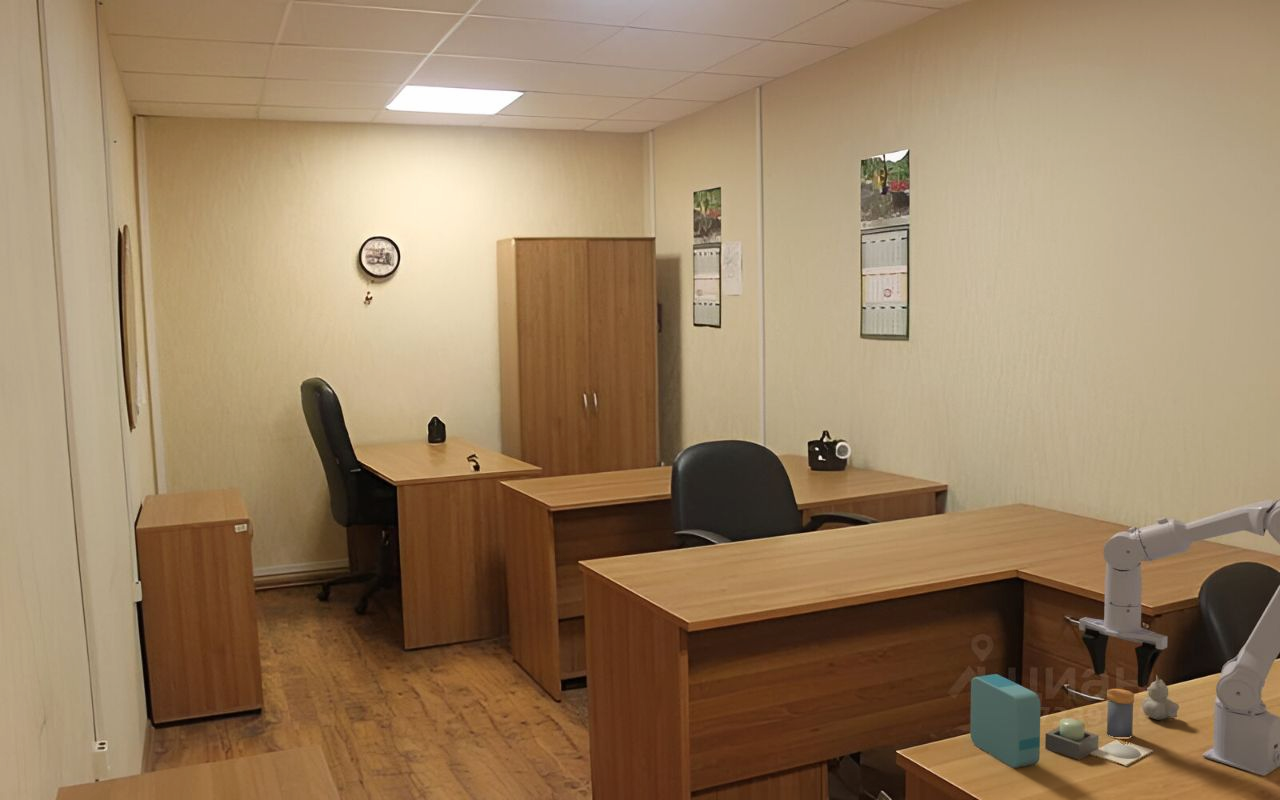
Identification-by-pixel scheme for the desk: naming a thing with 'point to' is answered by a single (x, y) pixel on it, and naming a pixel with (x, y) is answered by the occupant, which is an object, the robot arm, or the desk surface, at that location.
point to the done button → (1072, 729)
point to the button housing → (1071, 744)
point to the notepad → (1121, 752)
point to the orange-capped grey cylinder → (1120, 713)
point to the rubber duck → (1159, 702)
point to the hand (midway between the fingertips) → (1120, 679)
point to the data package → (1005, 720)
